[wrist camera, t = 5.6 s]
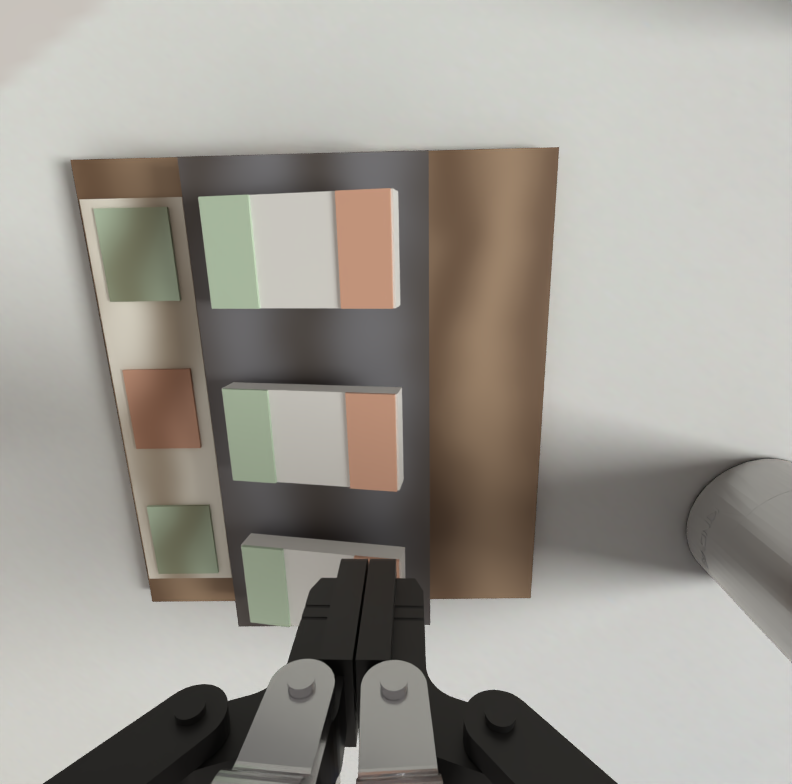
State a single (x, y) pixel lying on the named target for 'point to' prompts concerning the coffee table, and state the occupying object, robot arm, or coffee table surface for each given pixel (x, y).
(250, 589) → the switch
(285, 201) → the switch
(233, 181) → the switch unit
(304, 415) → the switch
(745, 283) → the coffee table surface
